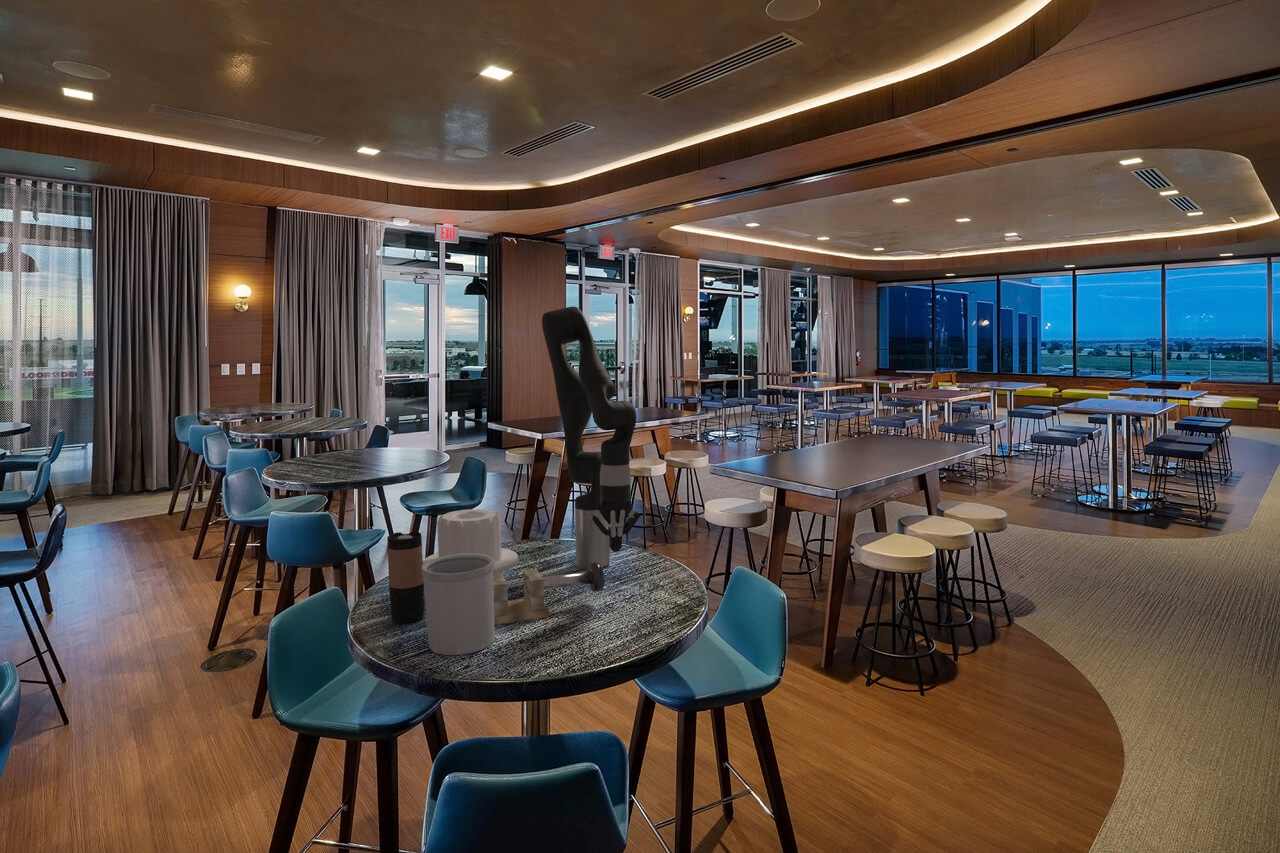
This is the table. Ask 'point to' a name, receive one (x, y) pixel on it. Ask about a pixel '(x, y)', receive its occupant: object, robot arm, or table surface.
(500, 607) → the block
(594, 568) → the shaft
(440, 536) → the ribbed cylinder on disc
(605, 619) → the table surface
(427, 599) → the utensil holder
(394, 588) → the travel mug
